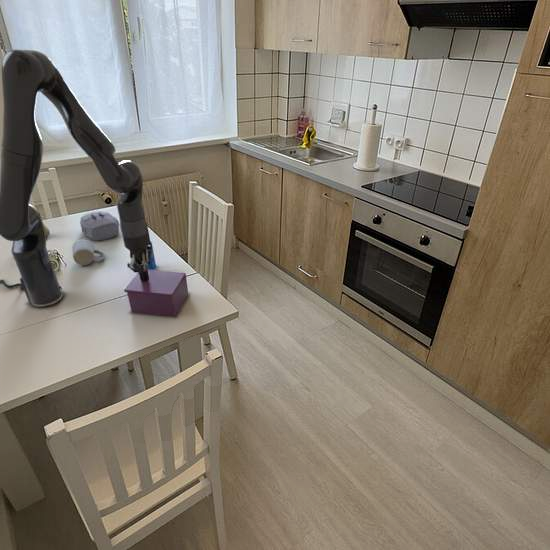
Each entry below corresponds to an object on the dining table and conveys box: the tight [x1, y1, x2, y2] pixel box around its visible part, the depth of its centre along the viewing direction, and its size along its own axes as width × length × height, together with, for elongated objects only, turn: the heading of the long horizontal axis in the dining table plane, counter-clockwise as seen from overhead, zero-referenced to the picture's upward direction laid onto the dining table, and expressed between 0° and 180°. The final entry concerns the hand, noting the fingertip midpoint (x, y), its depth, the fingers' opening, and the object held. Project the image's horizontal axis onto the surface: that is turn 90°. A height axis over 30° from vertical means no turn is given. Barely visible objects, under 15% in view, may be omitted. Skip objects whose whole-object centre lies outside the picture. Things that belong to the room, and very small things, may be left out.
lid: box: [123, 269, 187, 297], centre depth 125 cm, size 15×13×1 cm
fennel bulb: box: [35, 209, 50, 238], centre depth 165 cm, size 6×5×12 cm
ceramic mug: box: [71, 239, 105, 266], centre depth 150 cm, size 11×8×8 cm
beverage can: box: [148, 240, 157, 270], centre depth 144 cm, size 6×6×12 cm
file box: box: [126, 274, 189, 318], centre depth 127 cm, size 15×13×8 cm
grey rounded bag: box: [79, 210, 120, 241], centre depth 171 cm, size 15×8×20 cm
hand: (144, 279), depth 125 cm, fingers closed
